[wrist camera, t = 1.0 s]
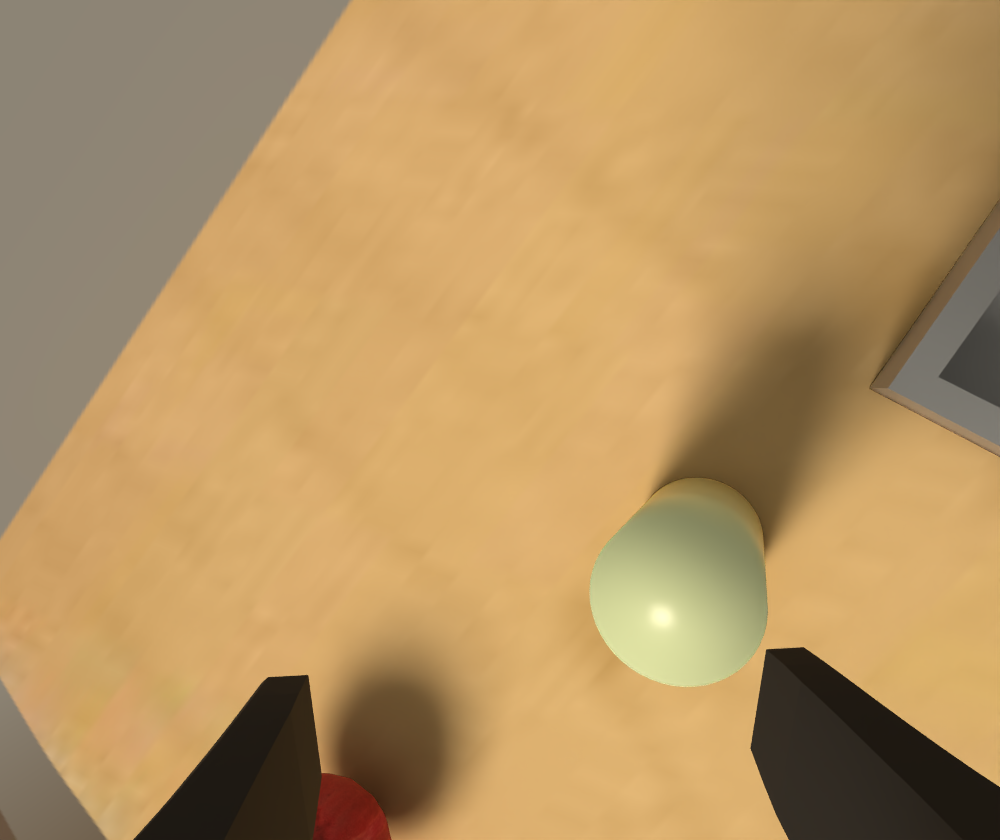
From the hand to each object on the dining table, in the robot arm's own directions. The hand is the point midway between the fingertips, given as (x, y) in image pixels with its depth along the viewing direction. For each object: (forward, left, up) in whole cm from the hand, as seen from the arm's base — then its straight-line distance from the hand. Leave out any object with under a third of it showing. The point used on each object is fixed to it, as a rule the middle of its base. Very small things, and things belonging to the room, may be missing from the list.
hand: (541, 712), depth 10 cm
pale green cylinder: (-1, -1, -13) cm, 13 cm away
